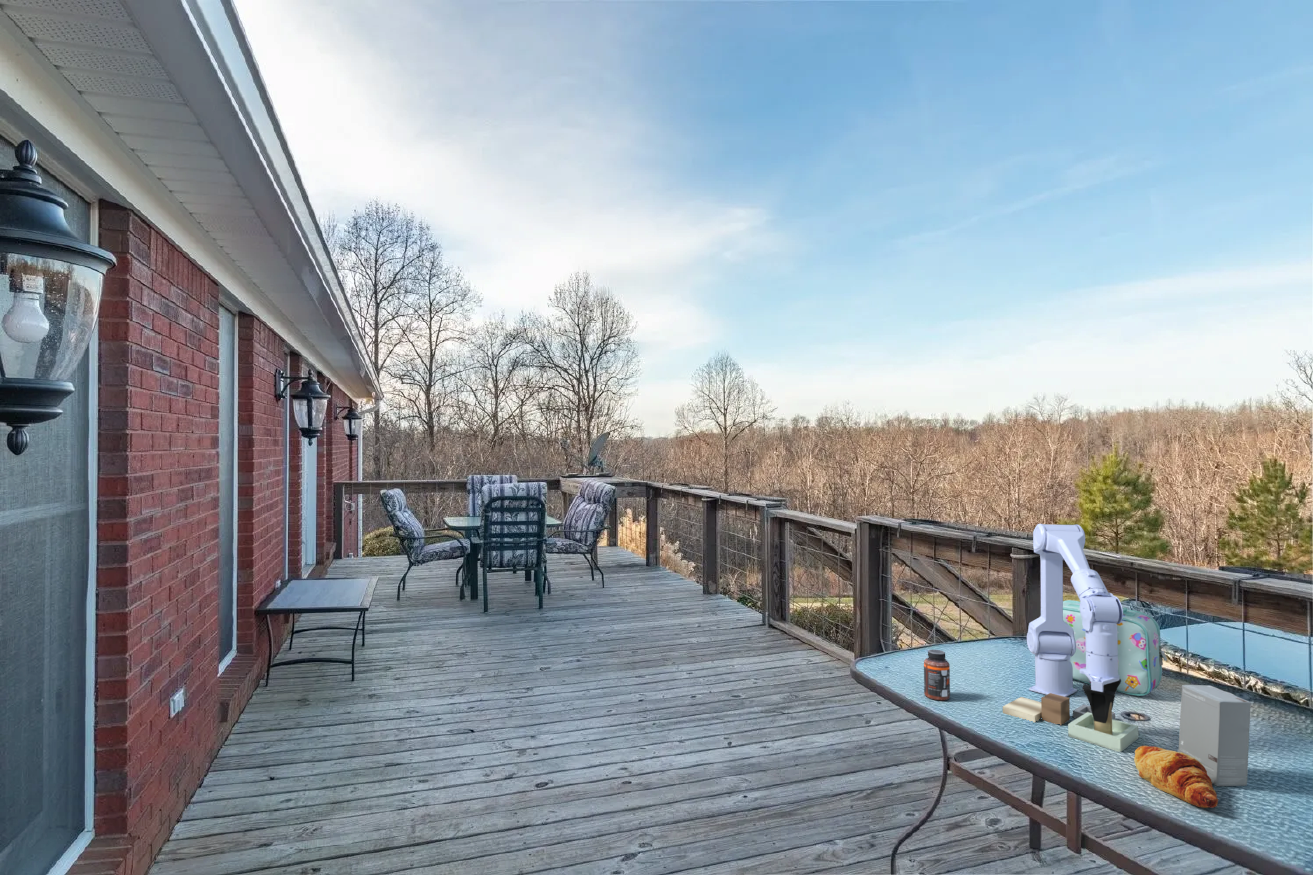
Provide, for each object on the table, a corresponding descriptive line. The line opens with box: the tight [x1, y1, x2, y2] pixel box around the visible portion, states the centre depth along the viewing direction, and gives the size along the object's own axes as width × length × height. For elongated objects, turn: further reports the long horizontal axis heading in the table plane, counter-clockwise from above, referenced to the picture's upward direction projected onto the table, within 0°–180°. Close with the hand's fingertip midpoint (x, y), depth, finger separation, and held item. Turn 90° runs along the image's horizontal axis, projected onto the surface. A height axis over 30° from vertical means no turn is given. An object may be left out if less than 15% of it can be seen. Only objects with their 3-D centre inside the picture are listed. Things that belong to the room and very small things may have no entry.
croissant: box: [1133, 745, 1219, 809], centre depth 118 cm, size 21×10×8 cm, turn 172°
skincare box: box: [1177, 684, 1252, 787], centre depth 122 cm, size 8×7×16 cm
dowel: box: [1094, 702, 1113, 735], centre depth 138 cm, size 3×3×7 cm
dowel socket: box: [1072, 704, 1116, 720], centre depth 148 cm, size 6×6×2 cm
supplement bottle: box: [923, 649, 951, 702], centre depth 162 cm, size 6×6×11 cm
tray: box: [1067, 712, 1139, 753], centre depth 138 cm, size 11×10×3 cm
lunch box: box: [1063, 599, 1168, 697], centre depth 171 cm, size 27×10×21 cm, turn 34°
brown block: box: [1040, 693, 1071, 726], centre depth 147 cm, size 5×4×5 cm
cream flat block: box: [1002, 696, 1042, 723], centre depth 152 cm, size 10×7×2 cm
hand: (1102, 716), depth 138 cm, fingers open, 7 cm apart
